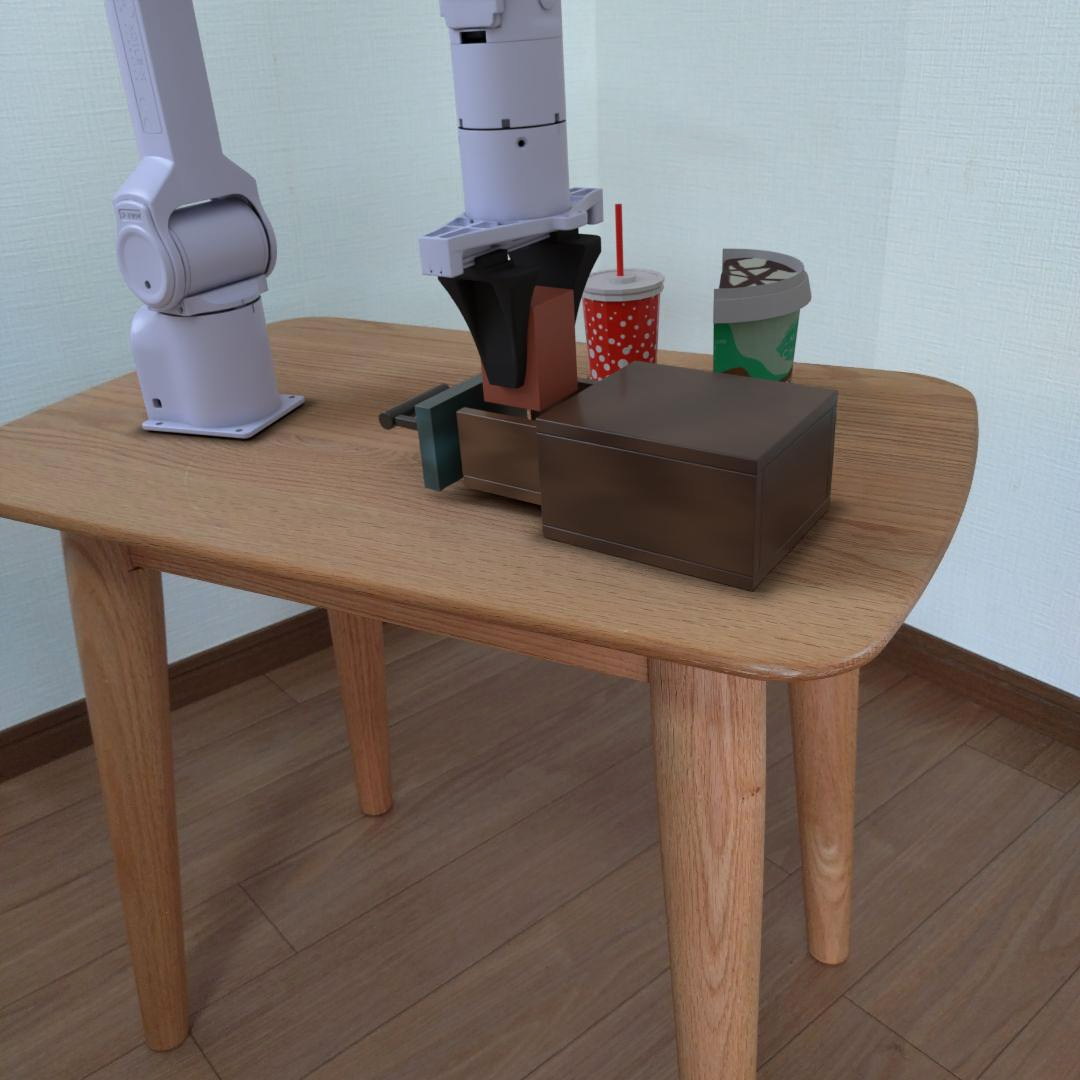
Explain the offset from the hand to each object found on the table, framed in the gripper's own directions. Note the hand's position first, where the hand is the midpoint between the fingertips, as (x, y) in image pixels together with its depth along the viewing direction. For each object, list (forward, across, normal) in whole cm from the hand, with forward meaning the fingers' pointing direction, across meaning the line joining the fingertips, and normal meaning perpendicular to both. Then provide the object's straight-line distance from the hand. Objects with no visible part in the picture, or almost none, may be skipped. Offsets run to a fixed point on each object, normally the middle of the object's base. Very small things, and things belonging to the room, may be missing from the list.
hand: (529, 373), depth 61 cm
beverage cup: (+8, +16, +3) cm, 18 cm away
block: (+1, 0, 0) cm, 1 cm away
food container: (+8, +18, -7) cm, 21 cm away
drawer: (+7, 0, +2) cm, 7 cm away
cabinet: (+7, 0, -10) cm, 13 cm away
